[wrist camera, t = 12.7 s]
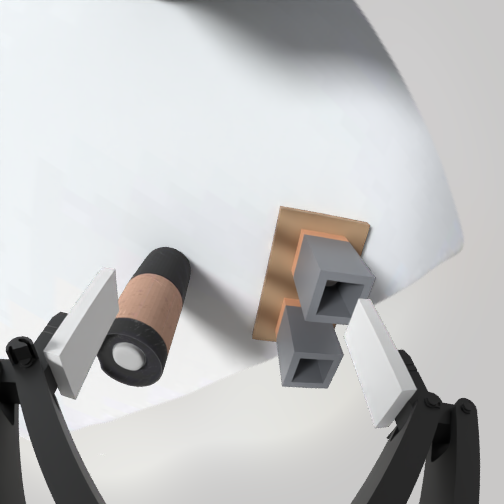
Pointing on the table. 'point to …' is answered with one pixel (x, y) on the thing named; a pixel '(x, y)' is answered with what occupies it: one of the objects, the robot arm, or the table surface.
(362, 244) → the pinboard
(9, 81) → the table surface
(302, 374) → the banded sleeve
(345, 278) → the seated sleeve
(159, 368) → the travel mug
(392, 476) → the robot arm
